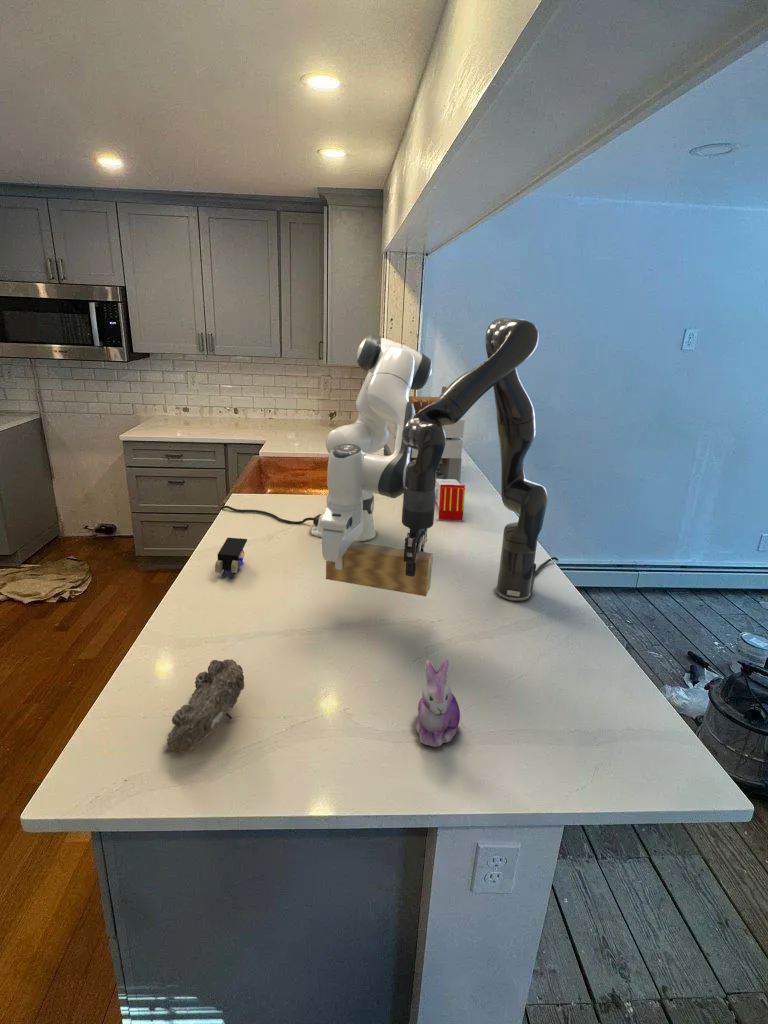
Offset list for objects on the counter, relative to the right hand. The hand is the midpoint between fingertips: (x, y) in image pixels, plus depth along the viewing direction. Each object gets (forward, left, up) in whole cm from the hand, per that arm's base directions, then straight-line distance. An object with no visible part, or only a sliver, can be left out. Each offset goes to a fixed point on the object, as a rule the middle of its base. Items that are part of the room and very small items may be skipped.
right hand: (414, 568), depth 138 cm
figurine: (+17, +34, -16) cm, 41 cm away
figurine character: (+29, -50, -16) cm, 60 cm away
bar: (+6, -7, -6) cm, 11 cm away
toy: (-63, -66, -16) cm, 93 cm away
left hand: (+12, -14, -2) cm, 18 cm away
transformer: (-83, -113, -16) cm, 142 cm away
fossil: (+53, +10, -16) cm, 56 cm away
